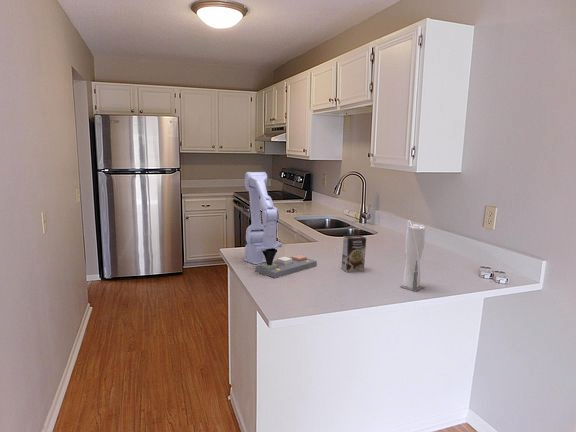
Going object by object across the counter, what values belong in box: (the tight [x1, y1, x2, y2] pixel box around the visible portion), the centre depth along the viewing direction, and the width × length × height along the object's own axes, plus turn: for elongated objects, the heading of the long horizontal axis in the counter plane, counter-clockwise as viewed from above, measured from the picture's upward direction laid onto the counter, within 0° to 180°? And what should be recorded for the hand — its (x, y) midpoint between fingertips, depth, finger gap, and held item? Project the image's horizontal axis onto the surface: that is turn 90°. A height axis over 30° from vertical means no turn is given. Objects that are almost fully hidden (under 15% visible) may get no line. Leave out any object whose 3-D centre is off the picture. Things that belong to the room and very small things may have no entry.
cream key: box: [276, 256, 292, 266], centre depth 189 cm, size 5×5×3 cm
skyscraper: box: [399, 219, 426, 293], centre depth 166 cm, size 8×8×28 cm
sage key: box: [260, 262, 277, 270], centre depth 182 cm, size 5×5×3 cm
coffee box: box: [341, 235, 367, 273], centre depth 188 cm, size 9×6×16 cm
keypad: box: [254, 256, 318, 279], centre depth 188 cm, size 13×28×3 cm, turn 136°
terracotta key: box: [291, 254, 307, 262], centre depth 196 cm, size 5×5×3 cm
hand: (269, 264), depth 182 cm, fingers closed, pressing on sage key
